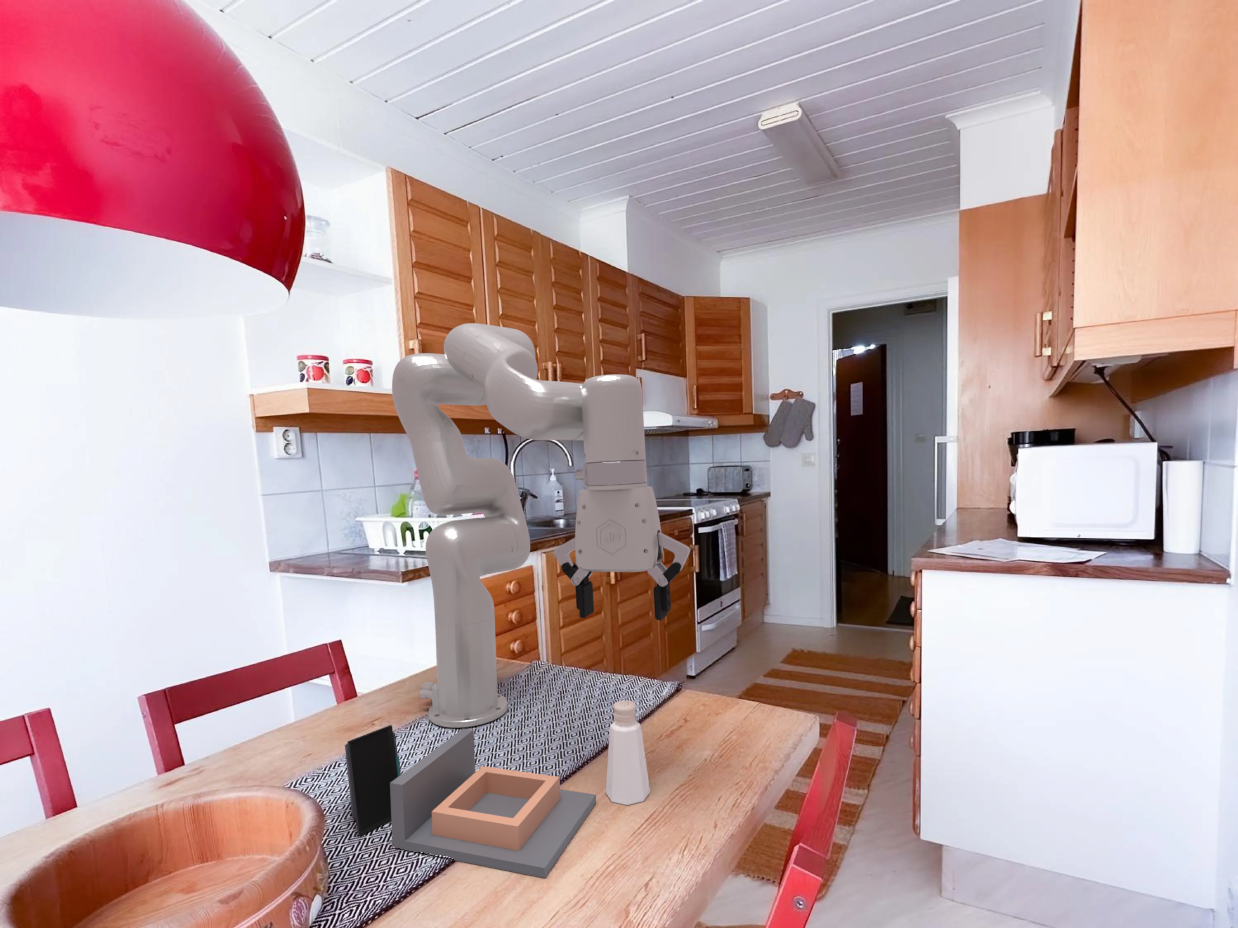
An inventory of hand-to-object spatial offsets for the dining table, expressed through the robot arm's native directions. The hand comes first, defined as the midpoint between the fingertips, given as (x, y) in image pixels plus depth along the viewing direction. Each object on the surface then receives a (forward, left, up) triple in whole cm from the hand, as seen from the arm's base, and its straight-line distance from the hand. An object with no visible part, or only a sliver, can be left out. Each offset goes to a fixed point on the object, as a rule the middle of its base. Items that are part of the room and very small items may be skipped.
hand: (623, 616), depth 77 cm
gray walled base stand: (-12, -11, -22) cm, 27 cm away
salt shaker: (0, -1, -22) cm, 22 cm away
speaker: (-28, -13, -22) cm, 38 cm away
